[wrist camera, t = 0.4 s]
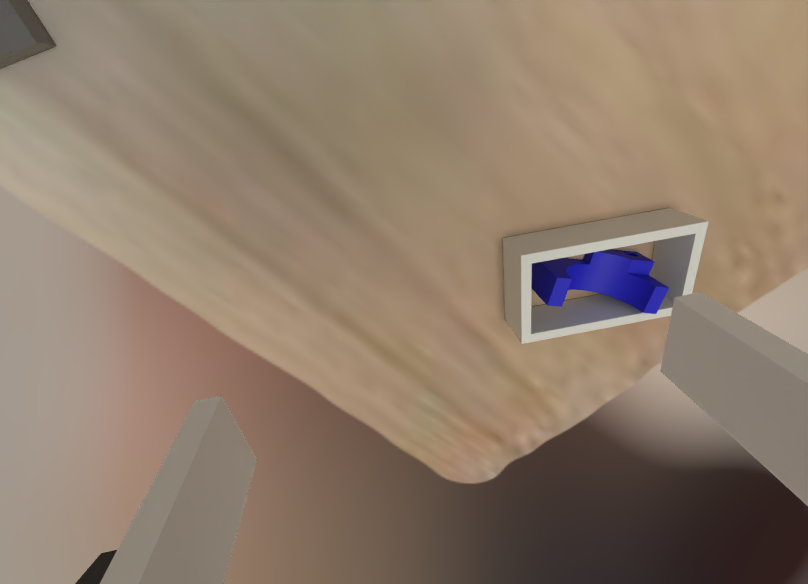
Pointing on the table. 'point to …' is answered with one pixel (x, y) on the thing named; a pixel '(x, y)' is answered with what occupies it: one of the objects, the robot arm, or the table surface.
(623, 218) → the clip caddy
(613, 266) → the blue arch block
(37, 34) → the grey peg hole board
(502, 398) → the table surface
